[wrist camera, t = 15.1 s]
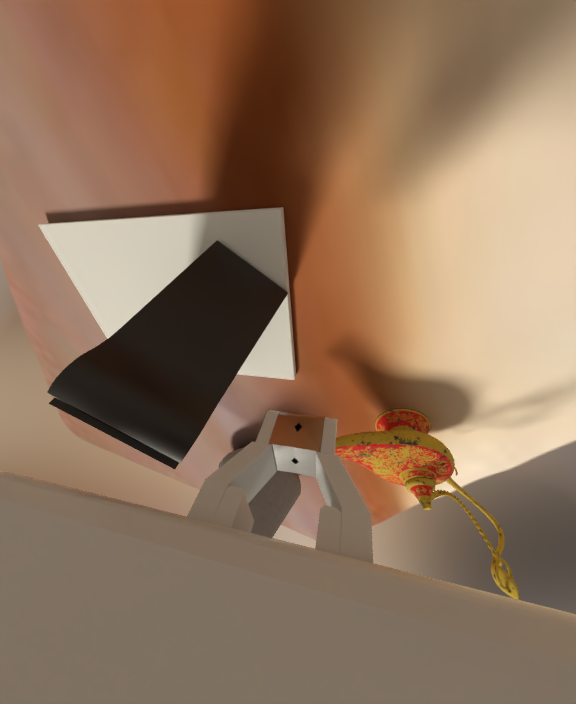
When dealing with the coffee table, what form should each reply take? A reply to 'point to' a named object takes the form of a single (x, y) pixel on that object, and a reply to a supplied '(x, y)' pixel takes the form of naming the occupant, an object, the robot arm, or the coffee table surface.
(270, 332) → the mat
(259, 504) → the coffee pot
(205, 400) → the phone stand
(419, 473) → the magic lamp
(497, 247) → the coffee table surface
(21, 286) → the coffee table surface
